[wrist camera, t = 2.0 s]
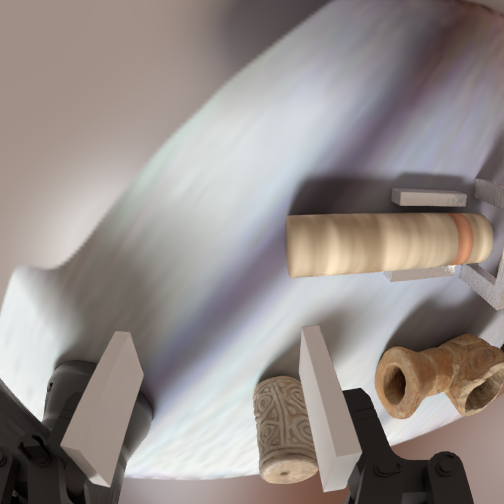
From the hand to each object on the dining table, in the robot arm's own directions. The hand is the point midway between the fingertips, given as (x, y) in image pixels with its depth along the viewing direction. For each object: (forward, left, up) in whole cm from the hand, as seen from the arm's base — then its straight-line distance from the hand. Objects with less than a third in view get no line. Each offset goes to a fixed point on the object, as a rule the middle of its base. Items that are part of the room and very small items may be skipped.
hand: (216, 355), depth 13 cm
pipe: (+24, -16, -15) cm, 33 cm away
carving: (+5, -19, -15) cm, 25 cm away
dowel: (+15, 0, -15) cm, 21 cm away
